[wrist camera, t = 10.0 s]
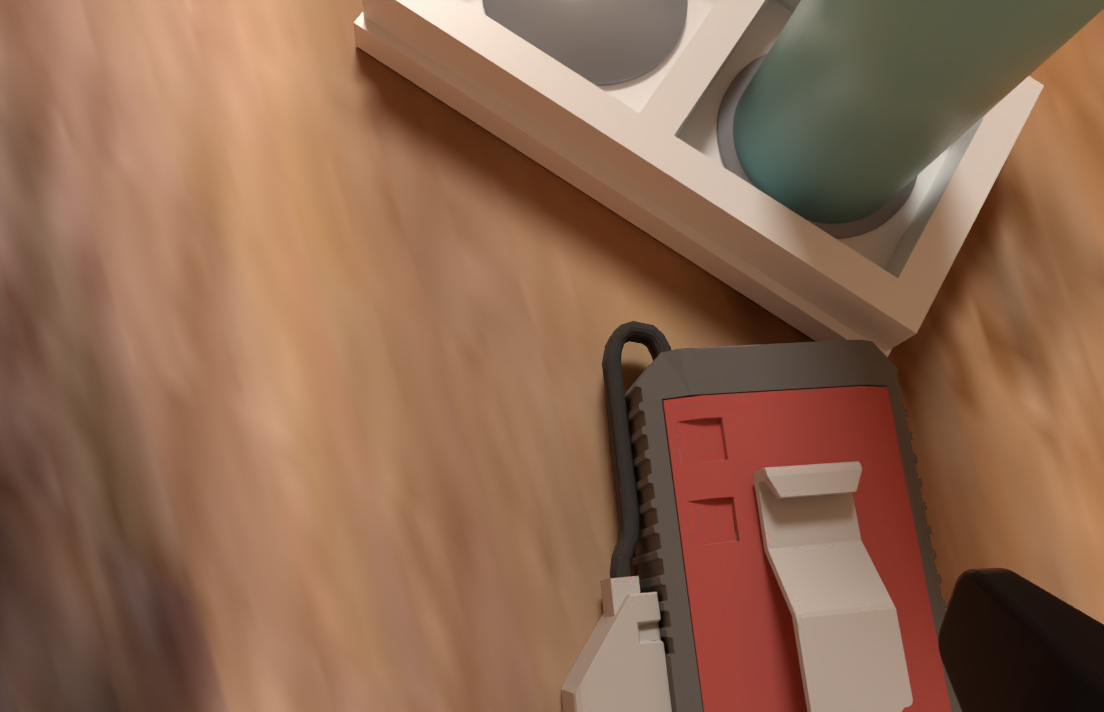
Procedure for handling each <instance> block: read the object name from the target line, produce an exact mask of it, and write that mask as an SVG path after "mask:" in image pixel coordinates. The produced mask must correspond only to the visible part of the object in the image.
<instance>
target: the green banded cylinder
mask: <svg viewBox="0 0 1104 712" xmlns="http://www.w3.org/2000/svg"><path fill="white" fill-rule="evenodd" d="M1103 9H1104V0H801V1H800V3H799V4H798V6H797V8H796V9H795V11H794V12H793V14H792V15H791V17H790V19H789V20H788V22H787V23H786V25H785V27H784V28H783V30H782V31H781V33H780V35H779V36H778V38H777V39H776V41H775V43H774V44H773V46H772V47H771V49H770V50H769V52H768V54H767V55H766V57H765V58H764V60H763V62H762V63H761V65H760V66H759V68H758V70H757V71H756V73H755V74H754V76H753V77H752V79H751V81H750V82H749V84H748V85H747V87H746V89H745V90H744V92H743V94H742V95H741V97H740V99H739V101H738V104H737V106H736V109H735V113H734V118H733V140H734V145H735V150H736V153H737V155H738V158H739V161H740V163H741V165H742V167H743V169H744V171H745V173H746V174H747V176H748V177H749V179H750V180H751V182H752V183H753V184H754V185H755V187H756V188H757V189H759V190H760V191H762V192H763V193H765V194H767V195H768V196H770V197H771V198H773V199H774V200H776V201H777V202H779V203H781V204H782V205H784V206H785V207H787V208H788V209H790V210H792V211H793V212H795V213H796V214H798V215H799V216H801V217H803V218H804V219H806V220H809V221H814V222H819V223H828V224H838V223H847V222H853V221H856V220H859V219H862V218H865V217H867V216H869V215H871V214H873V213H874V212H876V211H877V210H879V209H880V208H881V207H883V206H884V205H885V204H886V203H887V202H888V201H889V200H890V199H892V198H893V197H894V196H895V195H896V194H897V193H898V192H899V191H901V190H902V189H903V188H904V187H905V186H906V185H907V184H908V183H909V182H911V181H912V180H913V179H914V178H915V177H916V176H917V175H918V174H920V173H921V172H922V171H923V170H924V169H925V168H926V167H927V166H928V165H930V164H931V163H932V162H933V161H934V160H935V159H936V158H937V157H939V156H940V155H941V154H942V153H943V152H944V151H945V150H946V149H947V148H949V147H950V146H951V145H952V144H953V143H954V142H955V141H956V140H958V139H959V138H960V137H961V136H962V135H963V134H964V133H965V132H966V131H968V130H969V129H970V128H971V127H972V126H973V125H974V124H975V123H977V122H978V121H979V120H980V119H981V118H982V117H983V116H984V115H986V114H987V113H988V112H989V111H990V110H991V109H992V108H993V107H994V106H996V105H997V104H998V103H999V102H1000V101H1001V100H1002V99H1003V98H1005V97H1006V96H1007V95H1008V94H1009V93H1010V92H1011V91H1012V90H1013V89H1015V88H1016V87H1017V86H1018V85H1019V84H1020V83H1021V82H1022V81H1024V80H1025V79H1026V78H1027V77H1028V76H1029V75H1030V74H1031V73H1032V72H1034V71H1035V70H1036V69H1037V68H1038V67H1039V66H1040V65H1041V64H1043V63H1044V62H1045V61H1046V60H1047V59H1048V58H1049V57H1050V56H1051V55H1053V54H1054V53H1055V52H1056V51H1057V50H1058V49H1059V48H1060V47H1062V46H1063V45H1064V44H1065V43H1066V42H1067V41H1068V40H1069V39H1070V38H1072V37H1073V36H1074V35H1075V34H1076V33H1077V32H1078V31H1079V30H1081V29H1082V28H1083V27H1084V26H1085V25H1086V24H1087V23H1088V22H1090V21H1091V20H1092V19H1093V18H1094V17H1095V16H1096V15H1097V14H1098V13H1100V12H1101V11H1102V10H1103Z"/></svg>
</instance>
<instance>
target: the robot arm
mask: <svg viewBox="0 0 1104 712" xmlns="http://www.w3.org/2000/svg"><path fill="white" fill-rule="evenodd" d="M938 648H939V653H940V657H941V660H942V663H943V666H944V668H945V671H946V673H947V676H948V678H949V681H950V683H951V686H952V688H953V691H954V694H955V696H956V699H957V701H958V704H959V706H960V709H961V711H962V712H1104V625H1103V624H1102V623H1100V622H1098V621H1096V620H1095V619H1093V618H1091V617H1090V616H1088V615H1086V614H1084V613H1083V612H1081V611H1079V610H1078V609H1076V608H1074V607H1073V606H1071V605H1069V604H1067V603H1066V602H1064V601H1062V600H1061V599H1059V598H1057V597H1055V596H1054V595H1052V594H1050V593H1049V592H1047V591H1045V590H1044V589H1042V588H1040V587H1038V586H1037V585H1035V584H1033V583H1032V582H1030V581H1028V580H1026V579H1025V578H1023V577H1021V576H1020V575H1018V574H1016V573H1014V572H1013V571H1011V570H1008V569H1004V568H987V569H970V570H967V571H964V572H963V573H962V574H961V575H960V576H959V577H958V579H957V581H956V584H955V587H954V590H953V593H952V595H951V598H950V601H949V604H948V607H947V609H946V612H945V615H944V618H943V621H942V623H941V626H940V629H939V634H938Z"/></svg>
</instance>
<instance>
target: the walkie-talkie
mask: <svg viewBox="0 0 1104 712" xmlns="http://www.w3.org/2000/svg"><path fill="white" fill-rule="evenodd" d="M629 341H631V342H637V343H642V344H643V345H645V346H646V347H647V348H648V350H649V352H650V354H651V356H652V359H653V362H652V363H651V364H650V365H649V366H648V367H647V368H646V369H645V371H644V372H643V373H642V374H641V375H640V376H639V377H638V378H637V379H636V380H635V382H634V383H633V384H632V386H631V387H630V388H629V389H628V391H627V392H626V393H624V385H623V377H622V368H621V353H622V349H623V346H624V343H626V342H629ZM602 368H603V377H604V385H605V394H606V403H607V411H608V420H609V429H610V437H611V446H612V455H613V464H614V472H615V481H616V490H617V502H618V514H619V538H618V542H617V545H616V547H615V550H614V552H613V555H612V558H611V568H610V577H611V578H610V579H606V580H603V581H600V583H601V592H602V602H603V611H604V612H603V614H602V616H601V617H600V619H599V621H598V623H597V624H596V626H595V628H594V630H593V632H592V633H591V635H590V637H589V639H588V640H587V642H586V644H585V646H584V648H583V649H582V651H581V653H580V655H579V657H578V658H577V660H576V662H575V664H574V665H573V667H572V669H571V671H570V673H569V674H568V676H567V678H566V680H565V682H564V684H563V686H562V688H561V692H562V704H563V712H962V711H961V709H960V706H959V704H958V701H957V699H956V696H955V694H954V691H953V688H952V686H951V683H950V681H949V678H948V676H947V673H946V671H945V668H944V666H943V663H942V660H941V657H940V653H939V648H938V634H939V629H940V626H941V623H942V621H943V618H944V615H945V611H944V609H945V608H946V602H945V600H944V599H942V597H941V592H940V587H939V584H940V583H941V577H940V575H938V574H937V572H936V567H935V562H934V559H935V558H937V557H936V553H935V550H933V549H932V547H931V542H930V537H929V535H930V534H931V533H932V532H931V528H930V526H928V525H927V522H926V517H925V512H924V511H925V510H926V509H927V508H926V503H925V502H923V501H922V497H921V492H920V487H921V486H922V483H921V479H920V478H918V477H917V472H916V467H915V463H917V458H916V455H914V454H913V452H912V447H911V442H910V440H912V439H913V438H912V433H911V432H909V431H908V427H907V422H906V417H908V413H907V410H906V409H904V407H903V402H902V397H901V395H902V394H904V393H903V389H902V387H900V386H899V382H898V377H897V373H898V372H899V369H898V368H897V367H896V366H895V365H894V364H893V363H892V362H891V361H890V360H889V359H888V358H887V356H886V355H885V354H884V353H883V352H882V351H881V350H880V349H879V348H878V347H877V346H876V345H875V344H874V343H873V342H872V341H867V340H839V341H819V342H799V343H779V344H759V345H740V346H720V347H700V348H685V349H676V350H671V347H670V345H669V343H668V342H667V340H666V338H665V336H664V334H663V333H662V332H661V331H659V330H658V329H657V328H656V327H655V326H654V325H649V324H644V323H640V322H635V321H632V322H629V323H625V324H622V325H620V326H619V327H618V328H617V329H616V330H615V331H614V332H613V334H612V335H611V336H610V338H609V340H608V341H607V343H606V345H605V350H604V355H603V361H602ZM634 551H635V554H636V557H635V558H633V559H632V556H633V553H634ZM631 559H632V561H633V566H636V567H637V571H638V576H631V567H630V562H631Z"/></svg>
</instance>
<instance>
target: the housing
mask: <svg viewBox="0 0 1104 712" xmlns="http://www.w3.org/2000/svg"><path fill="white" fill-rule="evenodd" d="M800 1H801V0H363V12H362V14H361V15H360V16H359V17H358V18H357V19H356V20H355V22H354V34H355V46H357V47H358V48H360V49H361V50H363V51H364V52H366V53H368V54H369V55H371V56H372V57H374V58H375V59H377V60H378V61H380V62H382V63H383V64H385V65H386V66H388V67H389V68H391V69H392V70H394V71H396V72H397V73H399V74H400V75H402V76H403V77H405V78H406V79H408V80H410V81H411V82H413V83H414V84H416V85H417V86H419V87H420V88H422V89H424V90H425V91H427V92H428V93H430V94H431V95H433V96H434V97H436V98H438V99H439V100H441V101H442V102H444V103H445V104H447V105H448V106H450V107H452V108H453V109H455V110H456V111H458V112H459V113H461V114H462V115H464V116H466V117H467V118H469V119H470V120H472V121H473V122H475V123H476V124H478V125H480V126H481V127H483V128H484V129H486V130H487V131H489V132H490V133H492V134H494V135H495V136H497V137H498V138H500V139H501V140H503V141H504V142H506V143H508V144H509V145H511V146H512V147H514V148H515V149H517V150H518V151H520V152H522V153H523V154H525V155H526V156H528V157H529V158H531V159H532V160H534V161H536V162H537V163H539V164H540V165H542V166H543V167H545V168H546V169H548V170H550V171H551V172H553V173H554V174H556V175H557V176H559V177H560V178H562V179H564V180H565V181H567V182H568V183H570V184H571V185H573V186H574V187H576V188H578V189H579V190H581V191H582V192H584V193H585V194H587V195H588V196H590V197H592V198H593V199H595V200H596V201H598V202H599V203H601V204H602V205H604V206H606V207H607V208H609V209H610V210H612V211H613V212H615V213H616V214H618V215H620V216H621V217H623V218H624V219H626V220H627V221H629V222H631V223H632V224H634V225H635V226H637V227H638V228H640V229H641V230H643V231H645V232H646V233H648V234H649V235H651V236H652V237H654V238H655V239H657V240H659V241H660V242H662V243H663V244H665V245H666V246H668V247H669V248H671V249H673V250H674V251H676V252H677V253H679V254H680V255H682V256H683V257H685V258H687V259H688V260H690V261H691V262H693V263H694V264H696V265H697V266H699V267H701V268H702V269H704V270H705V271H707V272H708V273H710V274H711V275H713V276H715V277H716V278H718V279H719V280H721V281H722V282H724V283H725V284H727V285H729V286H730V287H732V288H733V289H735V290H736V291H738V292H739V293H741V294H743V295H744V296H746V297H747V298H749V299H750V300H752V301H753V302H755V303H757V304H758V305H760V306H761V307H763V308H764V309H766V310H767V311H769V312H771V313H772V314H774V315H775V316H777V317H778V318H780V319H781V320H783V321H785V322H786V323H788V324H789V325H791V326H792V327H794V328H795V329H797V330H799V331H800V332H802V333H803V334H805V335H806V336H808V337H809V338H811V339H813V340H814V341H816V342H819V341H839V340H867V341H872V342H873V343H874V344H875V345H876V346H877V347H878V348H879V349H880V350H881V351H882V352H883V353H884V354H885V355H886V356H887V357H888V355H889V354H890V352H891V350H892V348H893V347H895V346H896V345H898V344H900V343H902V342H903V341H905V340H907V339H908V338H910V337H912V336H913V335H915V334H917V332H918V330H919V328H920V326H921V324H922V322H923V320H924V318H925V316H926V314H927V312H928V310H929V308H930V307H931V305H932V303H933V301H934V299H935V297H936V295H937V293H938V291H939V289H940V287H941V285H942V283H943V281H944V279H945V277H946V275H947V273H948V271H949V270H950V268H951V266H952V264H953V262H954V260H955V258H956V256H957V254H958V252H959V250H960V248H961V246H962V244H963V242H964V240H965V238H966V236H967V234H968V233H969V231H970V229H971V227H972V225H973V223H974V221H975V219H976V217H977V215H978V213H979V211H980V209H981V207H982V205H983V203H984V201H985V199H986V198H987V196H988V194H989V192H990V190H991V188H992V186H993V184H994V182H995V180H996V178H997V176H998V174H999V172H1000V170H1001V168H1002V166H1003V164H1004V162H1005V161H1006V159H1007V157H1008V155H1009V153H1010V151H1011V149H1012V147H1013V145H1014V143H1015V141H1016V139H1017V137H1018V135H1019V133H1020V131H1021V129H1022V127H1023V125H1024V124H1025V122H1026V120H1027V118H1028V116H1029V114H1030V112H1031V110H1032V108H1033V106H1034V104H1035V102H1036V100H1037V98H1038V96H1039V94H1040V92H1041V90H1042V88H1043V87H1044V85H1042V84H1041V83H1039V82H1038V81H1036V80H1034V79H1033V78H1031V77H1030V76H1028V77H1027V78H1026V79H1025V80H1024V81H1022V82H1021V83H1020V84H1019V85H1018V86H1017V87H1016V88H1015V89H1013V90H1012V91H1011V92H1010V93H1009V94H1008V95H1007V96H1006V97H1005V98H1003V99H1002V100H1001V101H1000V102H999V103H998V104H997V105H996V106H994V107H993V108H992V109H991V110H990V111H989V112H988V113H987V114H986V115H984V116H983V117H982V118H981V119H980V120H979V121H978V122H977V123H975V124H974V125H973V126H972V127H971V128H970V129H969V130H968V131H966V132H965V133H964V134H963V135H962V136H961V137H960V138H959V139H958V140H956V141H955V142H954V143H953V144H952V145H951V146H950V147H949V148H947V149H946V150H945V151H944V152H943V153H942V154H941V155H940V156H939V157H937V158H936V159H935V160H934V161H933V162H932V163H931V164H930V165H928V166H927V167H926V168H925V169H924V170H923V171H922V172H921V173H920V174H918V175H917V176H916V177H915V178H914V179H913V180H912V181H911V182H909V183H908V184H907V185H906V186H905V187H904V188H903V189H902V190H901V191H899V192H898V193H897V194H896V195H895V196H894V197H893V198H892V199H890V200H889V201H888V202H887V203H886V204H885V205H884V206H883V207H881V208H880V209H879V210H877V211H876V212H874V213H873V214H871V215H869V216H867V217H865V218H862V219H859V220H856V221H853V222H847V223H838V224H828V223H819V222H814V221H809V220H806V219H804V218H803V217H801V216H799V215H798V214H796V213H795V212H793V211H792V210H790V209H788V208H787V207H785V206H784V205H782V204H781V203H779V202H777V201H776V200H774V199H773V198H771V197H770V196H768V195H767V194H765V193H763V192H762V191H760V190H759V189H757V188H756V187H755V185H754V184H753V183H752V182H751V180H750V179H749V177H748V176H747V174H746V173H745V171H744V169H743V167H742V165H741V163H740V161H739V158H738V155H737V153H736V150H735V145H734V140H733V118H734V113H735V109H736V106H737V104H738V101H739V99H740V97H741V95H742V94H743V92H744V90H745V89H746V87H747V85H748V84H749V82H750V81H751V79H752V77H753V76H754V74H755V73H756V71H757V70H758V68H759V66H760V65H761V63H762V62H763V60H764V58H765V57H766V55H767V54H768V52H769V50H770V49H771V47H772V46H773V44H774V43H775V41H776V39H777V38H778V36H779V35H780V33H781V31H782V30H783V28H784V27H785V25H786V23H787V22H788V20H789V19H790V17H791V15H792V14H793V12H794V11H795V9H796V8H797V6H798V4H799V3H800Z"/></svg>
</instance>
